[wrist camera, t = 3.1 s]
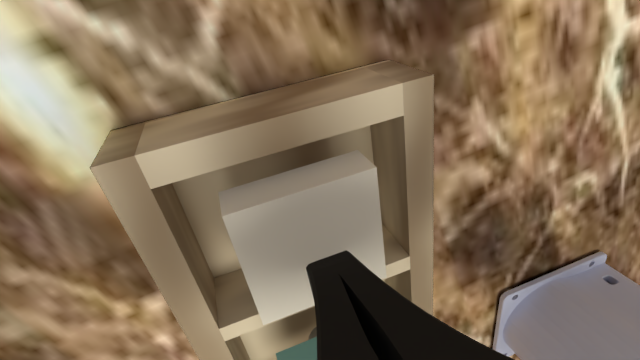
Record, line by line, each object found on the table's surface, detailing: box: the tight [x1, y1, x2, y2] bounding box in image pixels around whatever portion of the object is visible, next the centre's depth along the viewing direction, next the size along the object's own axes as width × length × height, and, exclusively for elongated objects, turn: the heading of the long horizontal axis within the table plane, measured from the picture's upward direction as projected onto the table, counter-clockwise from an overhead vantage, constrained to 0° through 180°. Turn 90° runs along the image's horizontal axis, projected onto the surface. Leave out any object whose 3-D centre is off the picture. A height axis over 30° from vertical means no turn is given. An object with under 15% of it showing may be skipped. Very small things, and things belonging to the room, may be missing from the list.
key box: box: [90, 60, 434, 360], centre depth 18 cm, size 11×24×3 cm, turn 9°
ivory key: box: [218, 150, 387, 325], centre depth 13 cm, size 5×5×3 cm
